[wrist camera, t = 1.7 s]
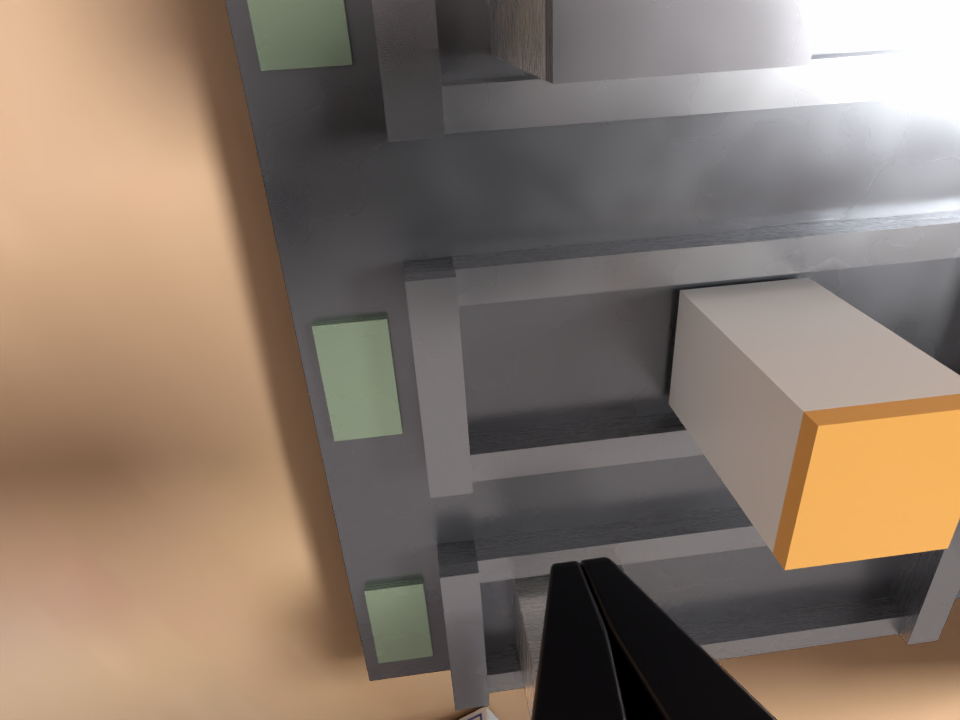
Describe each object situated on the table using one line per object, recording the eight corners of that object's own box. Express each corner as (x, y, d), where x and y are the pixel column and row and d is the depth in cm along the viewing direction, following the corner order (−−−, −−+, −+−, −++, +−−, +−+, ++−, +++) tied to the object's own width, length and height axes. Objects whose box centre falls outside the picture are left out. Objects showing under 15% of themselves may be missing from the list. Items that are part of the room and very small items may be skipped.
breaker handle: (808, 277, 15) (1004, 404, 10) (785, 390, 16) (948, 548, 11) (680, 290, 14) (818, 426, 10) (668, 404, 16) (784, 570, 11)
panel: (1305, -258, 12) (2103, -491, 6) (959, 575, 22) (1149, 766, 17) (192, -218, 10) (-37, -477, 5) (371, 656, 21) (363, 896, 15)
